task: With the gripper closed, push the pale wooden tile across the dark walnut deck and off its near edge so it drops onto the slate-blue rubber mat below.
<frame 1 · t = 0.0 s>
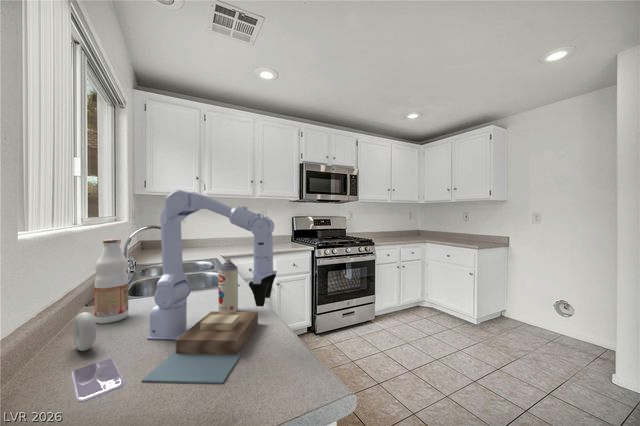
hand: (263, 301, 80), 10 cm above the counter, tool pointing down, fingers open, 7 cm apart
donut: (84, 350, 72), on the counter
fruit juice: (112, 319, 93), on the counter
walnut deck: (222, 337, 78), on the counter
wooden tile: (220, 325, 77), point 4 cm above the counter, touching walnut deck
aerosol can: (228, 312, 98), on the counter
mobile phone: (97, 380, 59), on the counter
slate mat: (196, 366, 63), on the counter
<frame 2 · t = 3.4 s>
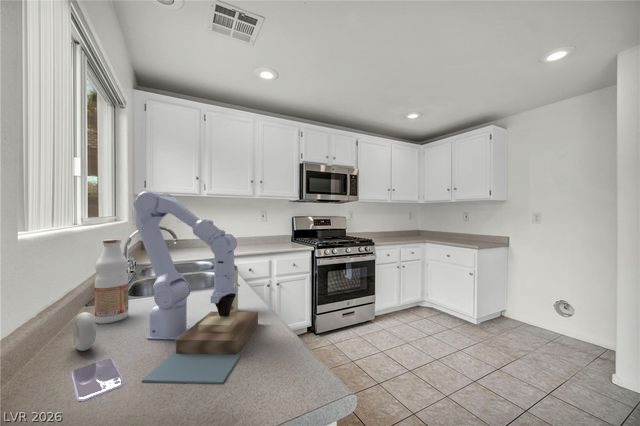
hand: (224, 319, 80), 5 cm above the counter, tool pointing down, fingers closed
wooden tile: (218, 327, 76), point 4 cm above the counter, touching gripper, walnut deck
everything else where it was.
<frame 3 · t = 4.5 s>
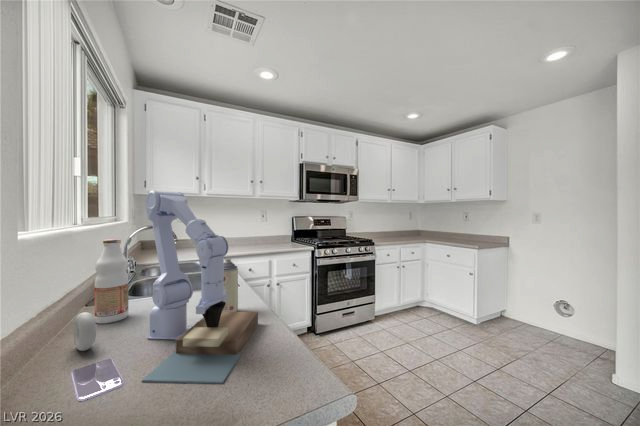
hand: (212, 330, 72), 5 cm above the counter, tool pointing down, fingers closed
wooden tile: (206, 340, 68), point 4 cm above the counter, touching gripper
everything else where it was.
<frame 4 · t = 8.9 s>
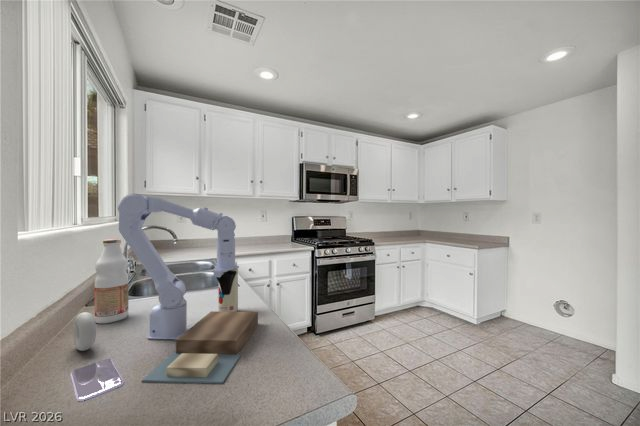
hand: (226, 294, 86), 10 cm above the counter, tool pointing down, fingers closed
wooden tile: (193, 360, 61), point 2 cm above the counter, tilted 180°, touching slate mat
everything else where it was.
at the end: wooden tile point 2.4 cm above the counter; wooden tile inside the target area (1.5 cm from its centre), point 2.4 cm above the counter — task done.
